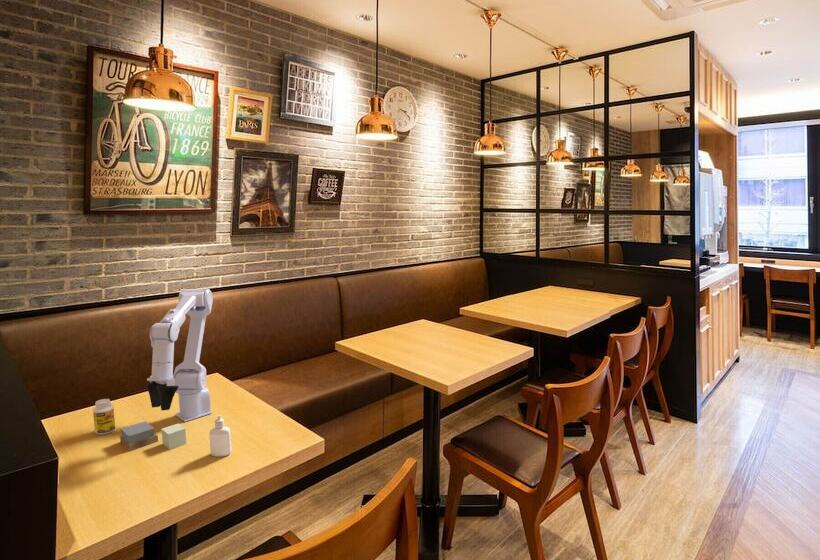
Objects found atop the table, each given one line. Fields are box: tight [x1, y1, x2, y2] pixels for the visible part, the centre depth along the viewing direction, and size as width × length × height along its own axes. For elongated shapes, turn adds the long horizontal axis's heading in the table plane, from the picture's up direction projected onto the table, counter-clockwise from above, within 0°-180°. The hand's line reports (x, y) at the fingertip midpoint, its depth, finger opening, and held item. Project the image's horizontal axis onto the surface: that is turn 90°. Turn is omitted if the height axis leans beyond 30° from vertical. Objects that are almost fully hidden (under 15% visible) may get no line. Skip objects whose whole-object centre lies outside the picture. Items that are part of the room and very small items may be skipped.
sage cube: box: [161, 422, 187, 450], centre depth 148 cm, size 5×5×5 cm
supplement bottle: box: [92, 398, 116, 436], centre depth 155 cm, size 6×6×10 cm
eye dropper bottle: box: [209, 414, 233, 458], centre depth 142 cm, size 4×6×12 cm
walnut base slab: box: [119, 432, 159, 452], centre depth 149 cm, size 8×8×2 cm
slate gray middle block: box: [120, 421, 155, 444], centre depth 149 cm, size 7×7×2 cm
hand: (160, 408), depth 146 cm, fingers open, 7 cm apart
